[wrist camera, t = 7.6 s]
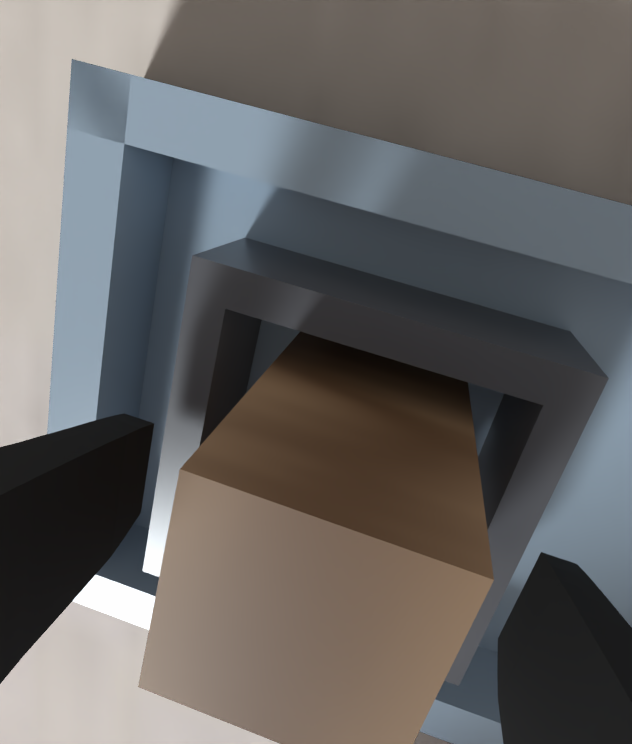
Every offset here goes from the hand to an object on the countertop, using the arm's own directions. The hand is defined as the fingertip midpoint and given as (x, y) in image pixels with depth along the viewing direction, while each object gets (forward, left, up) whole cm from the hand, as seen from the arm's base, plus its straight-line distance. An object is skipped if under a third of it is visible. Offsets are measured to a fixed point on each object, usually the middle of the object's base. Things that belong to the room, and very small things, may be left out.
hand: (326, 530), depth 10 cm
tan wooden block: (0, 0, -4) cm, 4 cm away
